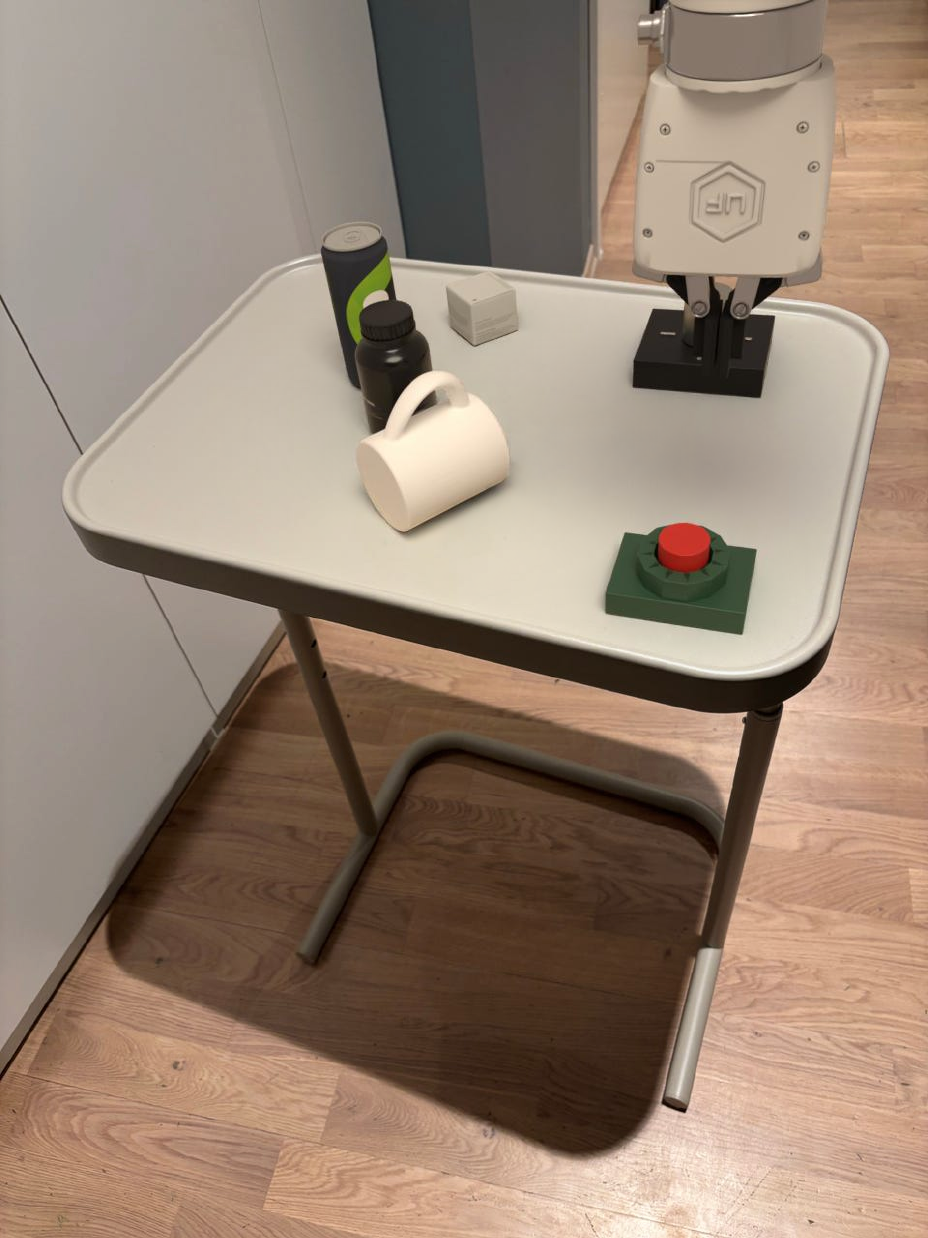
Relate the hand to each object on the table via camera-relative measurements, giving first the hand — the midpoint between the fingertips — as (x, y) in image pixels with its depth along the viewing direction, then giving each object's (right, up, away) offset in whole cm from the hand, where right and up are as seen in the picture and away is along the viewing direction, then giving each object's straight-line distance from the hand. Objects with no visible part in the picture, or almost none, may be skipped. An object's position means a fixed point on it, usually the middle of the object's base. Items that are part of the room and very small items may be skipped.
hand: (717, 365), depth 59 cm
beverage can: (-25, +9, +38) cm, 46 cm away
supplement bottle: (-22, +2, +31) cm, 38 cm away
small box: (-14, +15, +43) cm, 48 cm away
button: (0, -11, +9) cm, 15 cm away
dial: (+7, +11, +31) cm, 34 cm away
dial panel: (+8, +9, +33) cm, 35 cm away
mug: (-18, -6, +23) cm, 30 cm away
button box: (0, -14, +12) cm, 18 cm away
